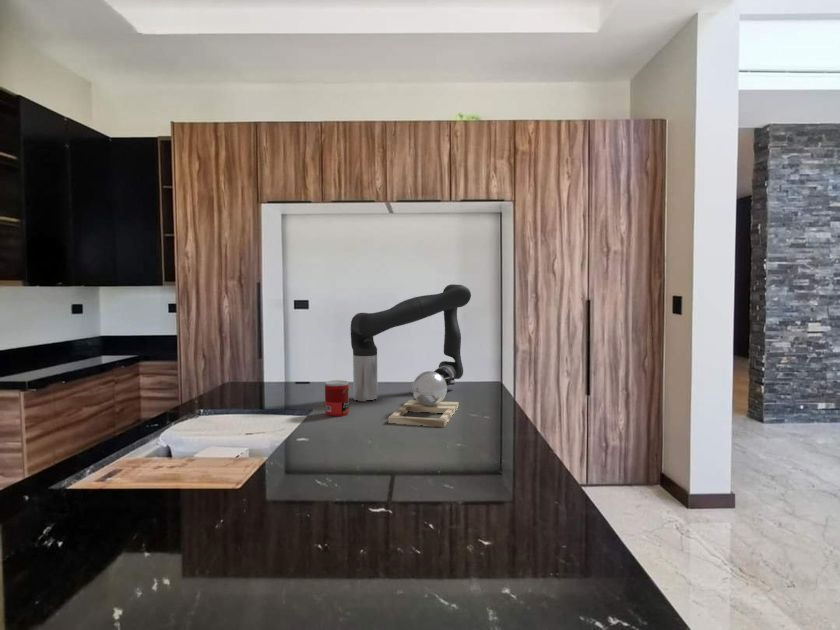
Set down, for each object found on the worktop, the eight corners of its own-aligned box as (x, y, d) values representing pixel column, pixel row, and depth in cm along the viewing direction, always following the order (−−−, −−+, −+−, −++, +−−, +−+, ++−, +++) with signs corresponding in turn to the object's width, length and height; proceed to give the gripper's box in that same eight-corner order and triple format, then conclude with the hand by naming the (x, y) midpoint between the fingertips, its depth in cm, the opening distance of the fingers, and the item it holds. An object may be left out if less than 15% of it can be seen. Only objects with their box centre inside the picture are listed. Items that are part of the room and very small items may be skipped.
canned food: (347, 417, 172) (346, 384, 172) (323, 417, 172) (322, 384, 172) (350, 411, 180) (350, 380, 179) (327, 411, 180) (327, 380, 179)
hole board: (410, 404, 189) (410, 399, 189) (458, 407, 185) (458, 402, 185) (388, 423, 164) (388, 417, 164) (444, 427, 160) (444, 420, 159)
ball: (407, 400, 184) (404, 372, 179) (435, 388, 189) (433, 360, 184) (425, 417, 175) (422, 388, 169) (454, 404, 180) (452, 375, 174)
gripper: (426, 366, 203) (415, 373, 186) (459, 367, 200) (451, 375, 183) (426, 385, 204) (415, 394, 187) (459, 386, 200) (451, 396, 184)
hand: (433, 384), depth 185 cm, fingers closed
